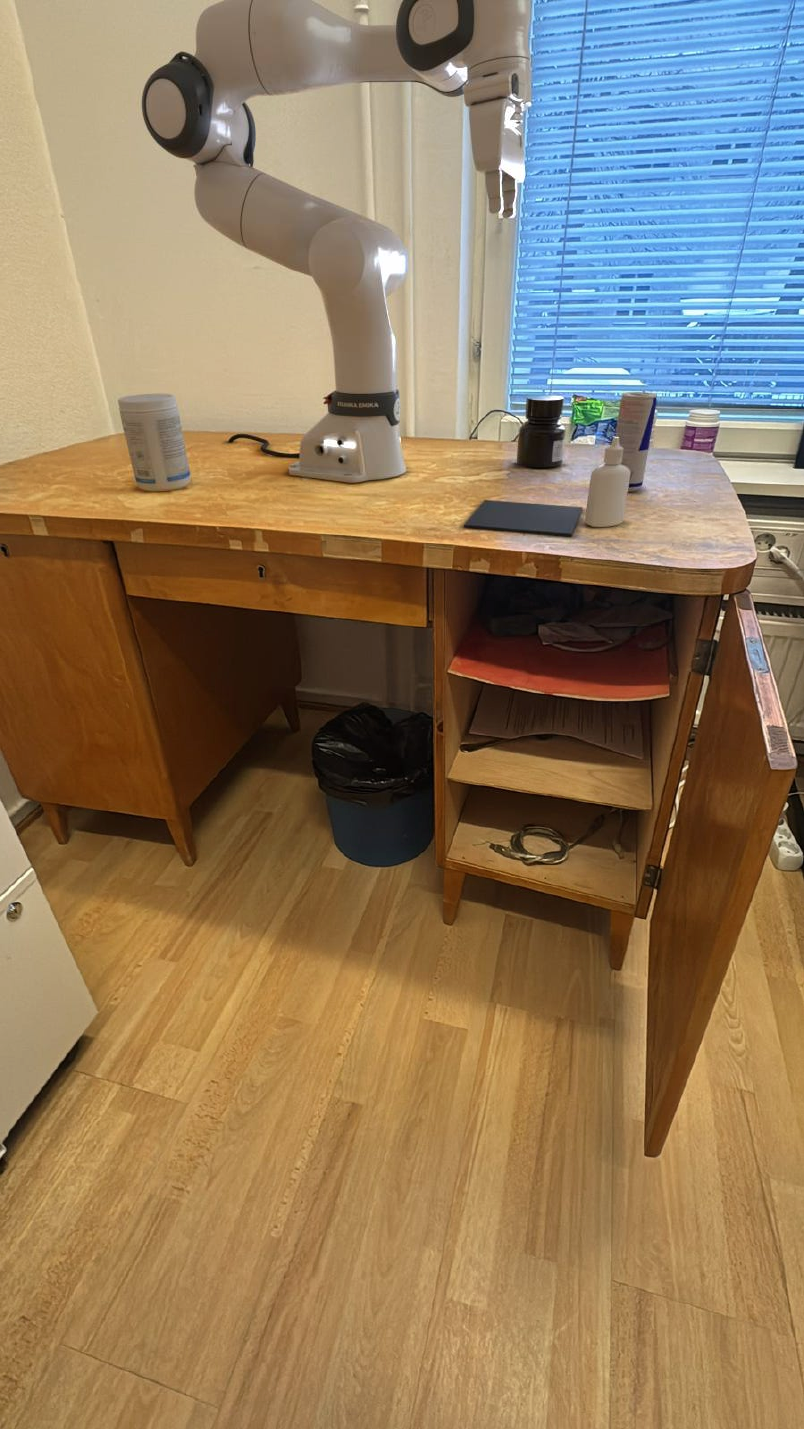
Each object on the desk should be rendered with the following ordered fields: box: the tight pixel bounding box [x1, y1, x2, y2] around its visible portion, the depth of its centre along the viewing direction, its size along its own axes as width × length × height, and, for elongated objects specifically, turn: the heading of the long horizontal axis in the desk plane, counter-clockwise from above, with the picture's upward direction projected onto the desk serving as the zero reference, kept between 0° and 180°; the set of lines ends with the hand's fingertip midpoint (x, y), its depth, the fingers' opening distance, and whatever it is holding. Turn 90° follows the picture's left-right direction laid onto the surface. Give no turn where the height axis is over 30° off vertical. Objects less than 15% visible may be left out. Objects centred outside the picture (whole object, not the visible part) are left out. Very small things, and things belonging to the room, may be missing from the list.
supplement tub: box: [117, 393, 192, 492], centre depth 119 cm, size 10×10×15 cm
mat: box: [463, 499, 583, 538], centre depth 103 cm, size 16×14×1 cm
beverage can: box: [614, 391, 658, 493], centre depth 114 cm, size 6×6×15 cm
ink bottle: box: [516, 394, 566, 469], centre depth 131 cm, size 10×9×12 cm
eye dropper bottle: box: [584, 436, 630, 528], centre depth 98 cm, size 4×6×12 cm
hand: (502, 215), depth 103 cm, fingers open, 8 cm apart
